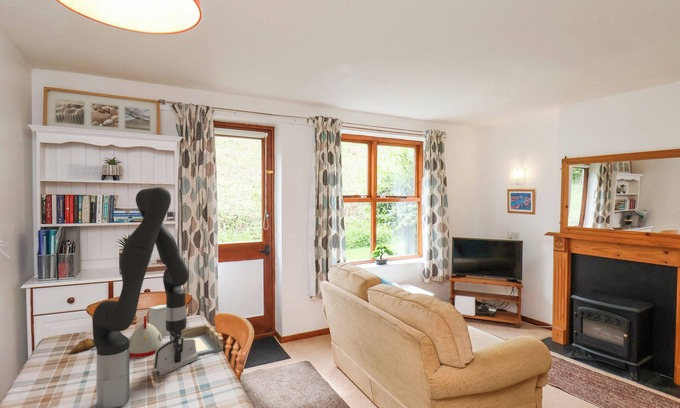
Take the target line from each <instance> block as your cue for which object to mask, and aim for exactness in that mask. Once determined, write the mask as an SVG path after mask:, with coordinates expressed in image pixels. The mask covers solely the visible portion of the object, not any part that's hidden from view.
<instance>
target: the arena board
mask: <svg viewBox="0 0 680 408" xmlns="http://www.w3.org/2000/svg"><path fill="white" fill-rule="evenodd" d="M189 338H193V339H194V340H195V345H196V352H197V355H198V357H199V356H204V355H208V354H212V353H217V352H221V351H224V347H223V348H219V346H218V345H217V344H216V343H215V342H214V341H213V340H212V339H211V338H210V337H209V336H208V335H207V334H203V335H198V336H193V337H189Z"/></svg>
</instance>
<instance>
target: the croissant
mask: <svg viewBox="0 0 680 408" xmlns="http://www.w3.org/2000/svg"><path fill="white" fill-rule="evenodd" d="M94 348H96V347H95V345H94V341H93V338H85V339H81V340H80V341H79V342H78V343H77V344H76V345H75V346H74V347H73V348H72V349H71V350H70V354H71V355H75V354H79V353H82V352H86V351H88V350H91V349H94Z"/></svg>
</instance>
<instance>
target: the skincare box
mask: <svg viewBox="0 0 680 408" xmlns="http://www.w3.org/2000/svg"><path fill="white" fill-rule="evenodd" d="M148 324H151V325H153V326H154V327H155V328H156V329H157V330H158V331H160V333H161V335H162V339H163V338H165V337H168V336H170V332H169V331H167V330H166V304H160V305H154V306H151V307H148Z"/></svg>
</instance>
